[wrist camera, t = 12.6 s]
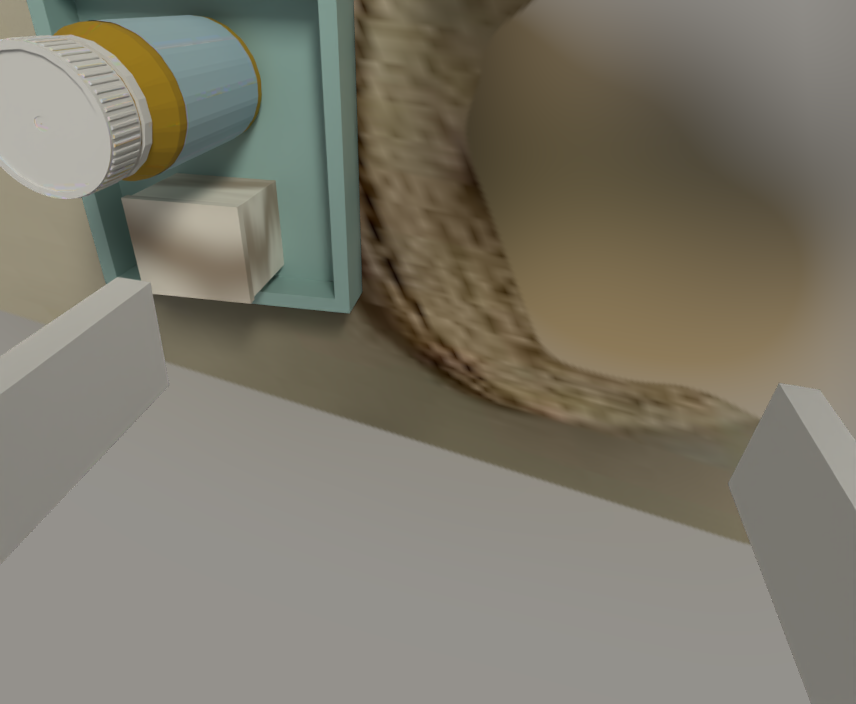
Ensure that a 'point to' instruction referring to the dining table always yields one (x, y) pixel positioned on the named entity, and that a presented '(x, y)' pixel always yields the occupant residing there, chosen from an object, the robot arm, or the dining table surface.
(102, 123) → the bottle
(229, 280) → the beige rectangular box
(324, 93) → the tote
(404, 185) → the dining table surface
